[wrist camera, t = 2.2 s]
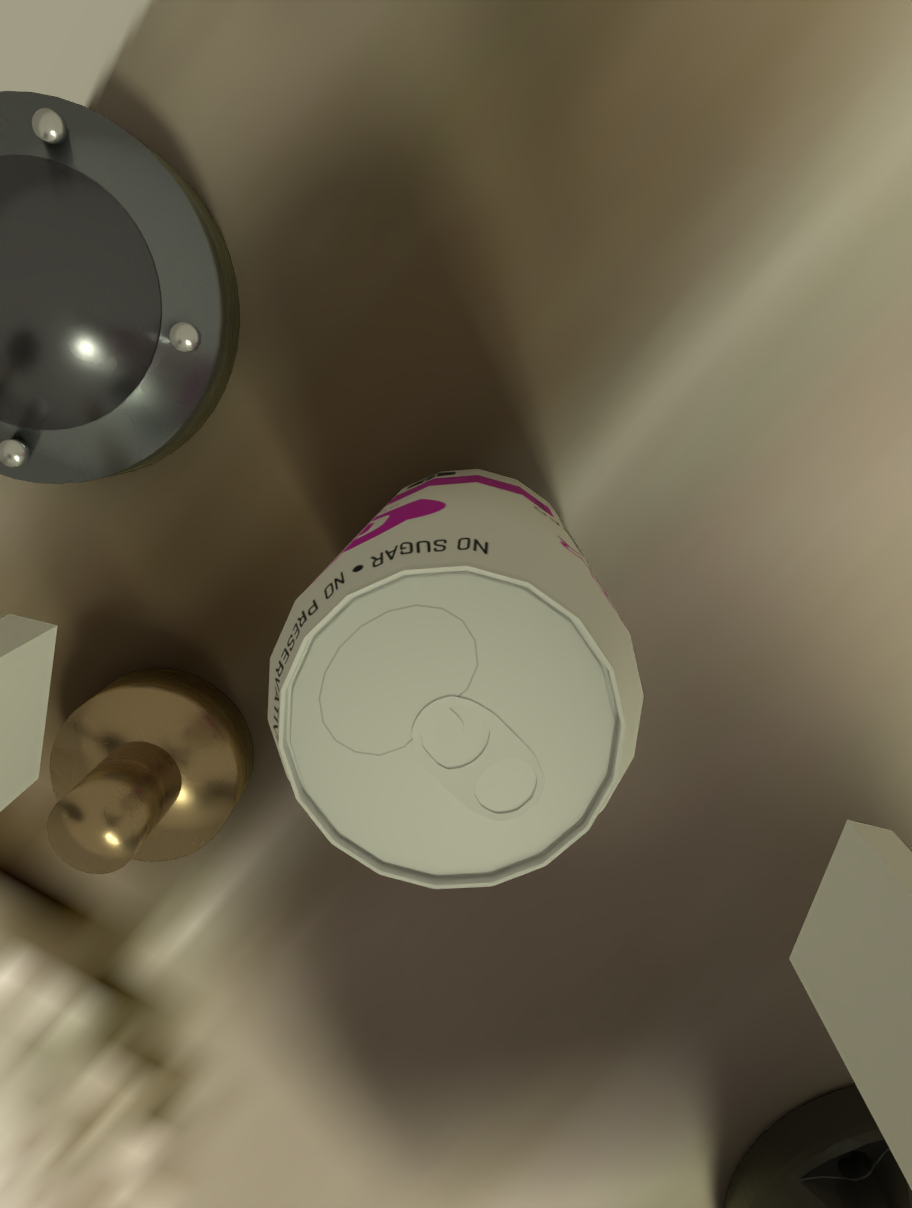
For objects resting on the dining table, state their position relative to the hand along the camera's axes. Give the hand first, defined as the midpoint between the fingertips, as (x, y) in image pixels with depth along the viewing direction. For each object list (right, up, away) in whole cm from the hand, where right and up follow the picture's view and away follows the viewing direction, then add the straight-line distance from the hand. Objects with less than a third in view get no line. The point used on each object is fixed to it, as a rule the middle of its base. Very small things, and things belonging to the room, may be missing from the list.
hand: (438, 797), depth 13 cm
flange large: (-13, +14, +16) cm, 25 cm away
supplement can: (+1, +4, +18) cm, 18 cm away
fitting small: (-11, -3, +20) cm, 23 cm away
